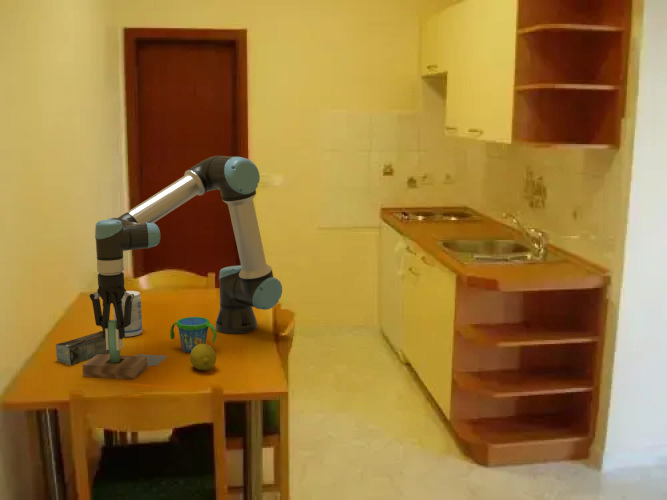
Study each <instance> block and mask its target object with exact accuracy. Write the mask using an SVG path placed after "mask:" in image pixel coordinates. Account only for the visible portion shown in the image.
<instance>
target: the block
mask: <svg viewBox="0 0 667 500" xmlns="http://www.w3.org/2000/svg"><path fill="white" fill-rule="evenodd" d="M147 369H148V366H147V357H140V356H137V355H121V354H120V363H118V364H117V363H110V354H97V355H96V356H94V357H93V358H91V359H88V360H86V361H85V362H84V363H83V364H82V377H86V378H103V379H117V380H118V379H119V380H133V381H134V380H136V378H138V377H140V376H141V374H143V373H144V371H146V370H147Z"/></svg>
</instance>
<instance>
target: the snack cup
mask: <svg viewBox="0 0 667 500" xmlns="http://www.w3.org/2000/svg"><path fill="white" fill-rule="evenodd" d="M175 326H177V329H178V334H179V340H180V345H181V349H182V351H183V352H184V353H189V354H191V351H192V349H193V348H194V347H195V346H197V345H199V344H207V338H208V330H209V328H210V330H211V332H212V333H213V338H212V343H213V344H214V343H215V342H216V340H217V337H218V336H217V330H216V326H214V325H213V324H212V323H211V322H210V320H209V319H208V318H206V317H202V316H187V317H183V318H182V317H181V318H180V319H178V320H176V321H175V322H174V323H173V324H172V325H171V326H170V331H169V335H170V339H171V340H174V339H175V335H176V334H175V331H174V330H175Z"/></svg>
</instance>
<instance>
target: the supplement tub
mask: <svg viewBox="0 0 667 500" xmlns="http://www.w3.org/2000/svg"><path fill="white" fill-rule="evenodd" d="M126 292H127V293H129V294H134V298H133V301H132V310H131V324H130V325H129V326H127V327H125V328H124V329H125V337H124V338H128V337H135V336H138V335H140V334H142V333H143V317H142V315H143V312H142V299H141V298H142V297H141V292H139V291H138V290H137V291H136V290H126ZM125 301H126V300H125V297H123V298H122V310H123V316H124V308H125ZM113 320H116V314H115V308H114V307H113Z"/></svg>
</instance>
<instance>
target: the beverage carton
mask: <svg viewBox="0 0 667 500" xmlns="http://www.w3.org/2000/svg"><path fill="white" fill-rule="evenodd" d="M55 351H56V354H55V355H56V362H58V361H60V362H59V363H61V362H62V364H64V363H66V364H65V365H67V364H68V365H67V366H70V365H72V366H74V364H75V365H78V364H80V363H81V362H84V361H85V362H86V361H89V360H90V359H91V358H93V357H94V356H96V355H97V354H106V355H109V354H110V353H109V350H106V338H103V330H99V331H97V332H93V333H91V334H87V335H84V336H80V337H78V338H74V339H70V340H66V341H64V342H60V343H59V342H58V343H56V344H55Z"/></svg>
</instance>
